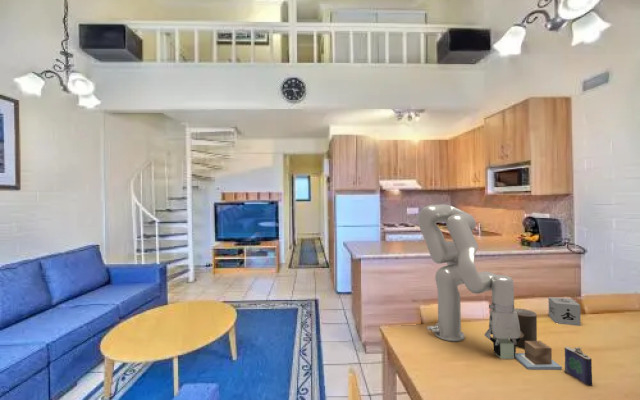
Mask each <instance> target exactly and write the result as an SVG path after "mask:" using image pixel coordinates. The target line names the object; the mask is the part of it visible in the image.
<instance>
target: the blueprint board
mask: <svg viewBox="0 0 640 400" xmlns="http://www.w3.org/2000/svg"><path fill="white" fill-rule="evenodd" d="M514 359H515V360H516V361H518V362H519V364H521V365H522V366H523V367H524V368H525V369H527V370H545V371H546V370H547V371H548V370H552V371H553V370H555V371H556V370H558V371H559V370H563V369H562V368H563V367H562V365H560V364H558V362H555V360H553V359H552V364H550V365H535V364H534V363H532V362H531V361H530V360H529V359H528V358H526V357H525V352H515V355H514Z"/></svg>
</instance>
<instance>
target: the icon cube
mask: <svg viewBox="0 0 640 400" xmlns="http://www.w3.org/2000/svg"><path fill="white" fill-rule="evenodd" d="M548 317H549V318H550V319H551V320H552V322H554V323H555V324H556V323H558V324H557V325H567V326H578V327H581V324H582V323H581V321H582V320H581V304H580V303H578V302H577V301H576V300H574V299H573V298H567V297H555V296H554V297H553V296H548Z"/></svg>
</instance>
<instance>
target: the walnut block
mask: <svg viewBox="0 0 640 400" xmlns="http://www.w3.org/2000/svg"><path fill="white" fill-rule="evenodd" d="M552 351H553V350H552V347H550V346H549V345H547V344H546V343H544V342H543V341H541V340H537V341H525V349H524V353H525V357H526V358H528V359H529V360H530V361H531V362H532V363H534V364H535V365H550V364H552V360H553V359H552V353H553V352H552Z"/></svg>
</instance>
